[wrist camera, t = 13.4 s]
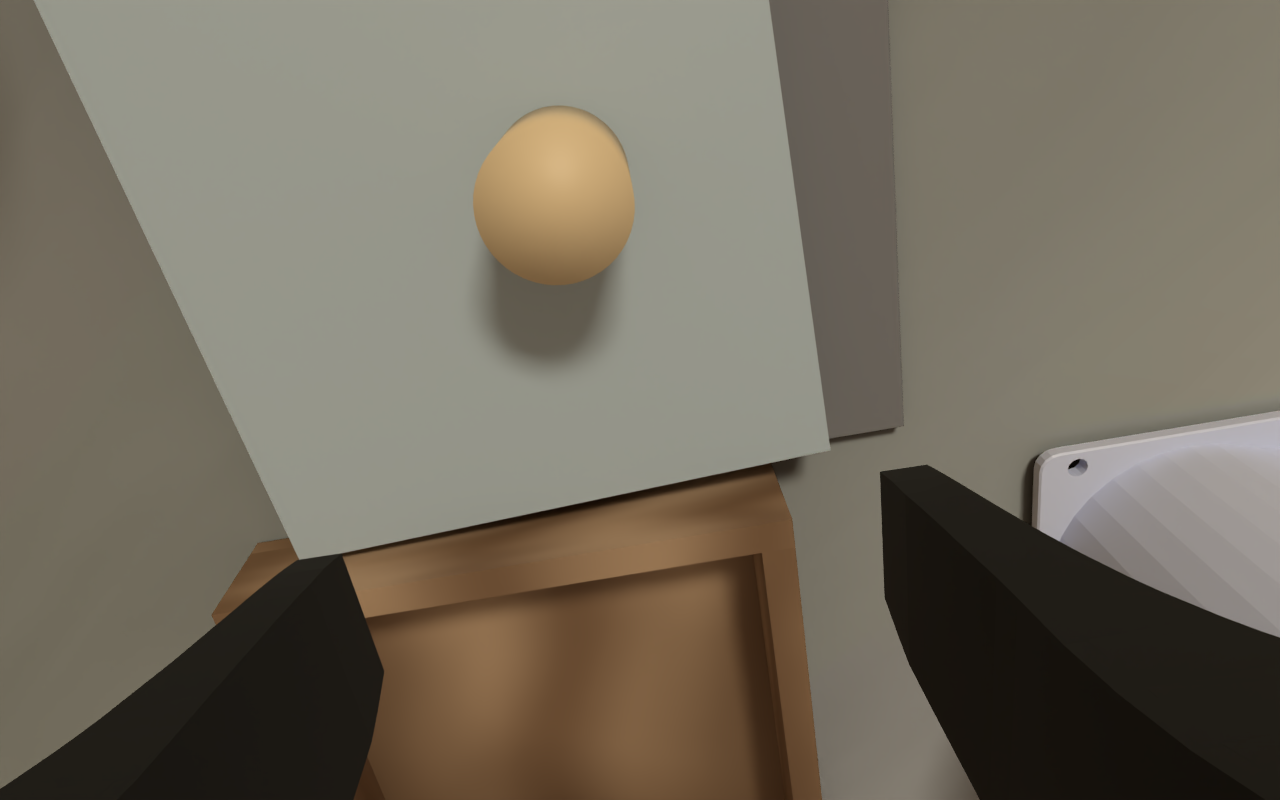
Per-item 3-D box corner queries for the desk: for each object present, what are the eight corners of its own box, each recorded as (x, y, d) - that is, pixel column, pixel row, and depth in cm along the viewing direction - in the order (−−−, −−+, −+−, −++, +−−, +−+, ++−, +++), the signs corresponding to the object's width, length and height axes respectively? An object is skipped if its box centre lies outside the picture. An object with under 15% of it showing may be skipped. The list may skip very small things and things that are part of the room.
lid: (710, -321, 15) (750, -440, 11) (816, 424, 22) (866, 518, 18) (12, -139, 16) (-186, -191, 12) (317, 530, 22) (255, 644, 18)
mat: (864, -426, 15) (871, -437, 15) (898, 419, 22) (904, 425, 22) (51, -265, 15) (37, -272, 15) (341, 512, 22) (337, 521, 22)
